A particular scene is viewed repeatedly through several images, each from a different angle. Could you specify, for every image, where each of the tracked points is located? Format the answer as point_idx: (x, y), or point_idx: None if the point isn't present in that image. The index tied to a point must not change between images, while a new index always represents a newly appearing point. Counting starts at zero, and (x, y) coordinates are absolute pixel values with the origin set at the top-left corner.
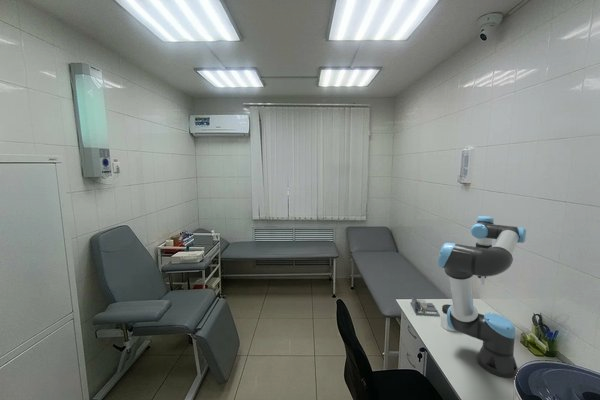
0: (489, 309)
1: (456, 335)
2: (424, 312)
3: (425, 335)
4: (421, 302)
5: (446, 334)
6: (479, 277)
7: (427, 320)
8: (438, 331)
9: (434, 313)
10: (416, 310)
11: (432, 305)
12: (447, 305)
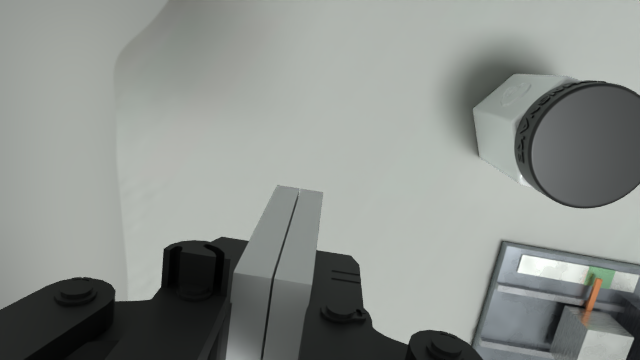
0: (136, 289)
1: (534, 33)
2: (598, 274)
3: None
4: (619, 343)
5: (591, 48)
6: (345, 261)
7: (611, 204)
8: (621, 83)
9: (537, 258)
10: (636, 301)
11: (493, 344)
12: (588, 189)
